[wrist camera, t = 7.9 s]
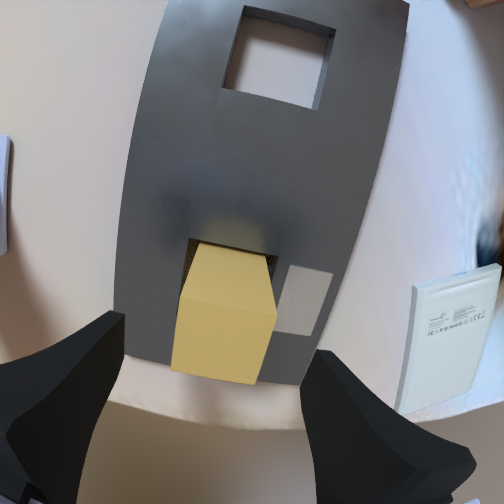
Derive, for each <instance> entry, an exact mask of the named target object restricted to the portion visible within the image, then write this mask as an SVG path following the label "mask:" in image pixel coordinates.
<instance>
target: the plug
mask: <svg viewBox="0 0 504 504" xmlns="http://www.w3.org/2000/svg"><path fill="white" fill-rule="evenodd" d="M277 316H278V315H277V310H276V305H275V301H274V296H273V291H272V286H271V281H270V277H269V272H268V267H267V262H266V258H265V253H260V252H255V251H250V250H246V249H241V248H236V247H231V246H226V245H222V244H217V243H212V242H207V241H202V240H200V243H199V246H198V249H197V251H196V254H195V257H194V259H193V262H192V265H191V268H190V270H189V273H188V276H187V279H186V281H185V284H184V287H183V290H182V293H181V296H180V301H179V307H178V314H177V322H176V329H175V337H174V345H173V353H172V361H171V370H172V371H177V372H182V373H187V374H192V375H197V376H202V377H207V378H213V379H219V380H225V381H231V382H238V383H244V384H251V385H255V383H256V380H257V377H258V374H259V371H260V368H261V365H262V362H263V359H264V356H265V353H266V350H267V347H268V344H269V341H270V338H271V335H272V332H273V329H274V325H275V322H276V319H277Z"/></svg>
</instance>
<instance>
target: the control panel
mask: <svg viewBox="0 0 504 504" xmlns="http://www.w3.org/2000/svg"><path fill="white" fill-rule="evenodd" d="M465 1H466V3H467V4H468V6H469V7H470V8H472V9H475V8H479V7H483V6H487V5H492V4H496V3H501V2H504V0H465Z"/></svg>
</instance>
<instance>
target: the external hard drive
mask: <svg viewBox="0 0 504 504" xmlns="http://www.w3.org/2000/svg"><path fill="white" fill-rule="evenodd" d="M501 269H502V266H500V265H499V264H497V263H495V264H491V265H488V266H484V267H480V268H476V269H473V270H469V271H466V273H465V274H461V275H457V276H452V275H449V276H445V277H441V278H437V279H433V280H428V281H424V282H420V283H415V284H413V285H412V297H411V307H410V316H409V325H408V333H407V340H406V347H405V354H404V360H403V366H402V372H401V378H400V383H399V388H398V393H397V398H396V403H395V408H394V410H395V411H396V412H397V413H398V414H400V415H401V416H403V415H407V414H410V413H412V412H415V411H418V410H421V409H424V408H427V407H429V406H432V405H435V404H437V403H440V402H442V401H445V400H448V399H450V398H452V397H455V396H457V395H460V394H462V393H464V392H467V391H468V390H470V389H471V387H472V384H473V381H474V379H475V376H476V373H477V370H478V367H479V363H480V360H481V357H482V354H483V350H484V347H485V343H486V340H487V336H488V332H489V328H490V324H491V320H492V316H493V312H494V307H495V302H496V298H497V292H498V287H499V281H500V276H501Z"/></svg>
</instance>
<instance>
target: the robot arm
mask: <svg viewBox="0 0 504 504" xmlns="http://www.w3.org/2000/svg"><path fill="white" fill-rule="evenodd" d="M9 151H10V138H9V136H7V135H0V256H3V255H4V254H6V252H7V230H6V198H7V175H8V162H9ZM124 338H125V314H123V313H119V312H115V311H111V310H110V311H108V312H106V313H105V314H103V315H102V316H100V317H99V318H97V319H96V320H94V321H93V322H91V323H90V324H88V325H86V326H85V327H83V328H82V329H80V330H79V331H77V332H75V333H74V334H72V335H70V336H69V337H67V338H65V339H63V340H61V341H60V342H58V343H56V344H54V345H52V346H50V347H48V348H46V349H44V350H42V351H39V352H37V353H35V354H32V355H30V356H27V357H24V358H21V359H18V360H14V361H11V362H8V363H4V364H0V504H76V501H77V495H78V489H79V484H80V479H81V475H82V470H83V466H84V462H85V458H86V454H87V450H88V447H89V444H90V440H91V437H92V433H93V430H94V428H95V425H96V423H97V420H98V418H99V416H100V414H101V411H102V409H103V407H104V405H105V403H106V401H107V399H108V397H109V395H110V392H111V390H112V388H113V386H114V384H115V382H116V380H117V377H118V374H119V371H120V368H121V365H122V362H123V359H124ZM300 398H301V409H302V414H303V418H304V422H305V427H306V431H307V435H308V439H309V443H310V448H311V452H312V457H313V462H314V471H315V481H316V496H317V504H450V503H451V502H453V498H452V495H451V493H452V492H453V491H454V490H456V489H457V488H458V487H459V486H460V485H461V484H462V483H463V482H464V481H466V480H467V479H468V478H469V477H470V475H471V474H472V473H473V472H474V470H475V468H476V465H477V463H476V461H475V459H474V458H473V456H472V454H471V452H470V451H469V449H468V448H467V447H464V446H462V445H459V444H456V443H453V442H450V441H448V440H445V439H443V438H440V437H438V436H436V435H434V434H432V433H430V432H428V431H426V430H424V429H422V428H420V427H419V426H417V425H415V424H414V423H412V422H410V421H409V420H407V419H406V418H404V417H403V416H401V415H400V414H398V413H397V412H396V411H394V410H393V409H392V408H390V407H389V406H388V405H387V404H385V403H384V402H383V401H382V400H381V399H379V398H378V397H377V396H376V395H375V394H374V393H373V392H372V391H371V390H370V389H368V388H367V387H366V386H365V385H364V384H363V383H362V382H361V381H360V380H359V379H358V378H357V377H356V376H355V375H354V374H353V373H352V372H351V370H350V369H349V368H348V367H347V366H346V365H345V364H344V363H343V362H342V361H341V360H340V359H339V358H338V357H337V356H336V355H335V354H334V353H333V352H332V351H328V350H319V349H316V351H315V354H314V356H313V358H312V361H311V363H310V365H309V368H308V370H307V372H306V374H305V377H304V379H303V381H302V383H301V386H300ZM463 504H480V501H479V499H478V498H475V499H473V500H470V501H468V502H465V503H463Z"/></svg>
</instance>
